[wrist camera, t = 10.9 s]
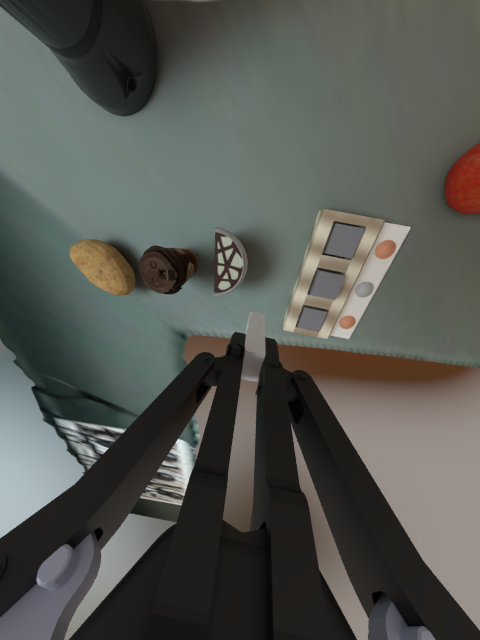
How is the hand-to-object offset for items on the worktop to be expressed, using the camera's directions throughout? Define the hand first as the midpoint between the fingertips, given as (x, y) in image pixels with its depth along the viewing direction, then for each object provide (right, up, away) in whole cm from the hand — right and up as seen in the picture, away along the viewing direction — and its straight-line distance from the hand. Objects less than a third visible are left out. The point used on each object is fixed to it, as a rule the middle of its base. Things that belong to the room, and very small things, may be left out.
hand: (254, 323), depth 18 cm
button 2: (+19, +17, +17) cm, 30 cm away
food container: (-2, +14, +22) cm, 27 cm away
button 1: (+16, +2, +25) cm, 30 cm away
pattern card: (+26, +8, +21) cm, 35 cm away
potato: (-32, +14, +26) cm, 43 cm away
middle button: (+17, +9, +21) cm, 28 cm away
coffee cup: (-14, +14, +24) cm, 31 cm away
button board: (+17, +9, +22) cm, 29 cm away
